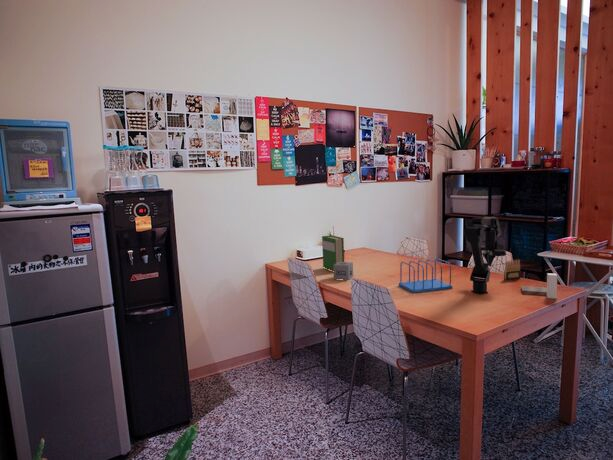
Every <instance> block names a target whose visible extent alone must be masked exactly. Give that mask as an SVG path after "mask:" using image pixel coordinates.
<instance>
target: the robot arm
mask: <svg viewBox="0 0 613 460" xmlns="http://www.w3.org/2000/svg"><path fill="white" fill-rule="evenodd" d="M476 226H480V227H476ZM484 228H485V229H484ZM463 231H464V232H463V235H464V236H465V237H464V238H465V239H466V241H467V242H468V243H469V244H470V248H471V253H472V258H473V263H474V266H473V268H472V271H471V273H470V276H469V281H470V282H472V289H471V290H470V292H472V293H474V294H477V295H481V294H488V293H489V291H487V290H488V287H487V286H488V284H487V283H489V282H490V277H491V271H490V268H489V267H491V266H492V264H493V262H494V259H495V258H496V257H505V256H506V255H507V253H506V252H507V251H505V247H506V245H505V244H501V243H499V241H498V240H497V239H496V238H498V237H500V236H502V233H503V231H502V229H501V226H500V222H499V219H498V217H497V216H484V217H473V218H472V220H471V221H470V222H469V223H467V225H466V226H465V228H464V230H463ZM483 234H484V240H483V241H482V243H484V245H481V240H482V238H483ZM484 259H485V261H486V262H485V261H484Z"/></svg>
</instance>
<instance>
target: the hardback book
mask: <svg viewBox="0 0 613 460" xmlns="http://www.w3.org/2000/svg"><path fill="white" fill-rule="evenodd" d="M321 239H322V241H321V243H322V244H321V245H322V246H321V247H322V268H323V267H325V268H327V269H330V270H332V271H334V268H333V265H334V264H336V263H337V262H345V246H344V245H345V243H344V237H341V236H336V235H324V236H321Z"/></svg>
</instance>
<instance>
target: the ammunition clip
mask: <svg viewBox="0 0 613 460" xmlns="http://www.w3.org/2000/svg"><path fill="white" fill-rule="evenodd" d="M521 274H522V273H521V262H520V258H519V259H513V260H506V261H505V265H504V273H503V276H504V277H503V280H505V281H510V280H520V279H519V278H521V277H522V276H521Z"/></svg>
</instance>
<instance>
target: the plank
mask: <svg viewBox="0 0 613 460" xmlns="http://www.w3.org/2000/svg"><path fill="white" fill-rule="evenodd" d="M520 290H521V293H522V295H530V296H531V295H534V296H545V297H547V296H546V295H547V286H546V287H544V286H529V285H521V289H520Z"/></svg>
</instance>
